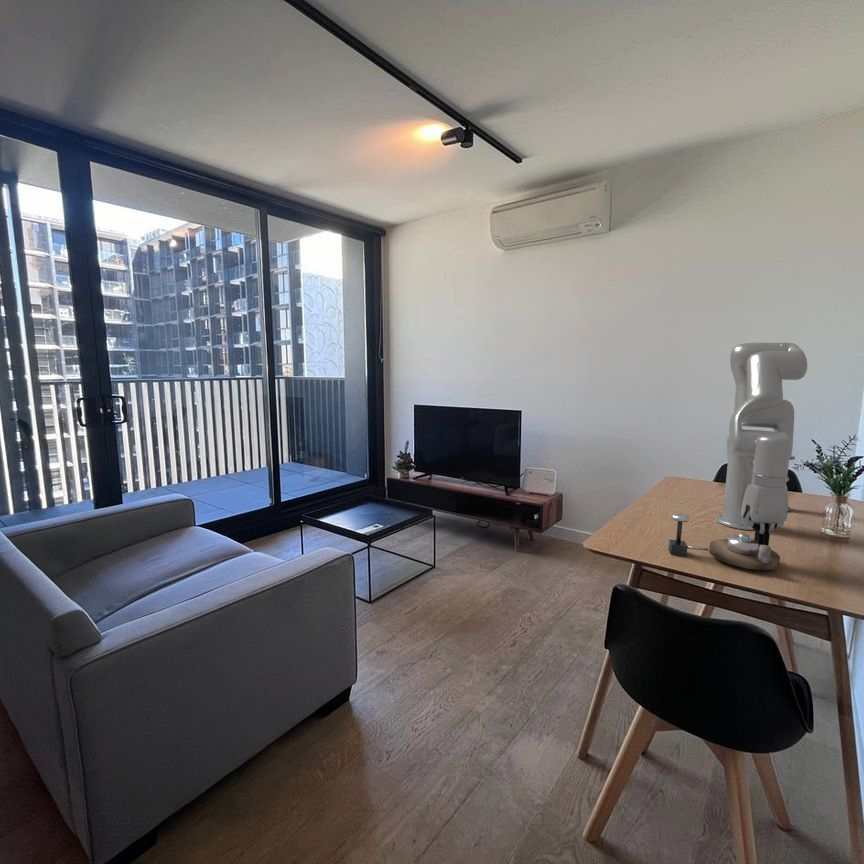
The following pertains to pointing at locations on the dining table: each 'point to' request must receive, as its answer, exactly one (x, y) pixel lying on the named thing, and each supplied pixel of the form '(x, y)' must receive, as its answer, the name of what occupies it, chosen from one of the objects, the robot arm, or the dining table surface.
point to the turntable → (761, 561)
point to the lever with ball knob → (677, 545)
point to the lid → (743, 545)
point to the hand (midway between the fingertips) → (760, 545)
